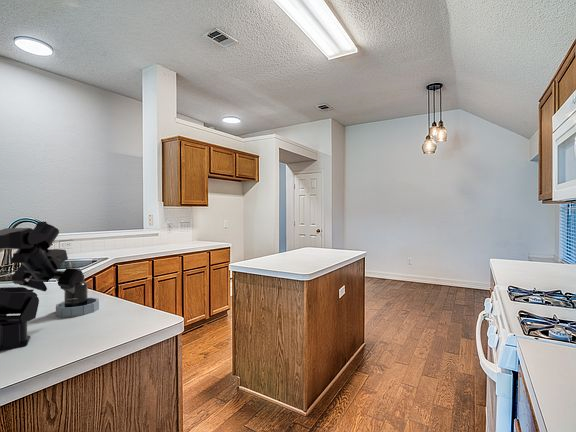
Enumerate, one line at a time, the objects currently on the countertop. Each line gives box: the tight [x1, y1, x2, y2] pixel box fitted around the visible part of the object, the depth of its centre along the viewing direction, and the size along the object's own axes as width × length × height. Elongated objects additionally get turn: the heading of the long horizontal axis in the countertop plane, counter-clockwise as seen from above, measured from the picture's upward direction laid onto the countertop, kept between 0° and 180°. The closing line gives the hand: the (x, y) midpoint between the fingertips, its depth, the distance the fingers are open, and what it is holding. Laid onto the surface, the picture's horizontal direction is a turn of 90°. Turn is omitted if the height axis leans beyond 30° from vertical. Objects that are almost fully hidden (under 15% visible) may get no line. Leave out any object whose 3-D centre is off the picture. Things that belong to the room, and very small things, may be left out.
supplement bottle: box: [63, 274, 89, 307], centre depth 111 cm, size 7×7×12 cm
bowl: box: [55, 297, 100, 318], centre depth 111 cm, size 13×13×3 cm
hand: (59, 291), depth 102 cm, fingers open, 9 cm apart
